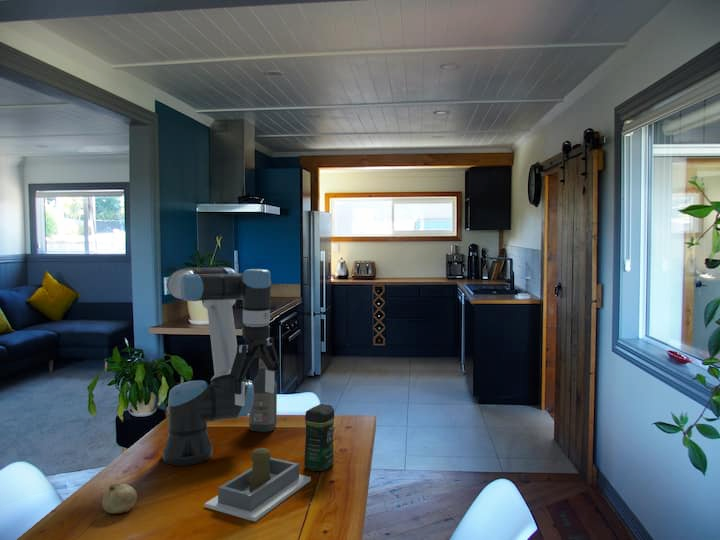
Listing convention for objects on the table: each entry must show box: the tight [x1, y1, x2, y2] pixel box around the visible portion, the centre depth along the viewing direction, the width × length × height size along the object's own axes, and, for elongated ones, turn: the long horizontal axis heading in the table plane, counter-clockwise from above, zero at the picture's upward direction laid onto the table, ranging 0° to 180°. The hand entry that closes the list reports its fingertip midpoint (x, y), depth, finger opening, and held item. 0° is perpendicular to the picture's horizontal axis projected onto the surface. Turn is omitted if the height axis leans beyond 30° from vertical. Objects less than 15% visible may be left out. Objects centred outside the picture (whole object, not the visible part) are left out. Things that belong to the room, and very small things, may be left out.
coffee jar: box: [303, 403, 335, 472], centre depth 162 cm, size 10×8×19 cm
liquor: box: [248, 357, 278, 433], centre depth 196 cm, size 9×9×30 cm
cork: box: [250, 447, 272, 492], centre depth 144 cm, size 6×6×11 cm
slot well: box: [204, 456, 312, 523], centre depth 144 cm, size 26×16×5 cm, turn 154°
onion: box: [101, 482, 138, 515], centre depth 134 cm, size 8×8×7 cm
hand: (255, 398), depth 150 cm, fingers open, 13 cm apart
